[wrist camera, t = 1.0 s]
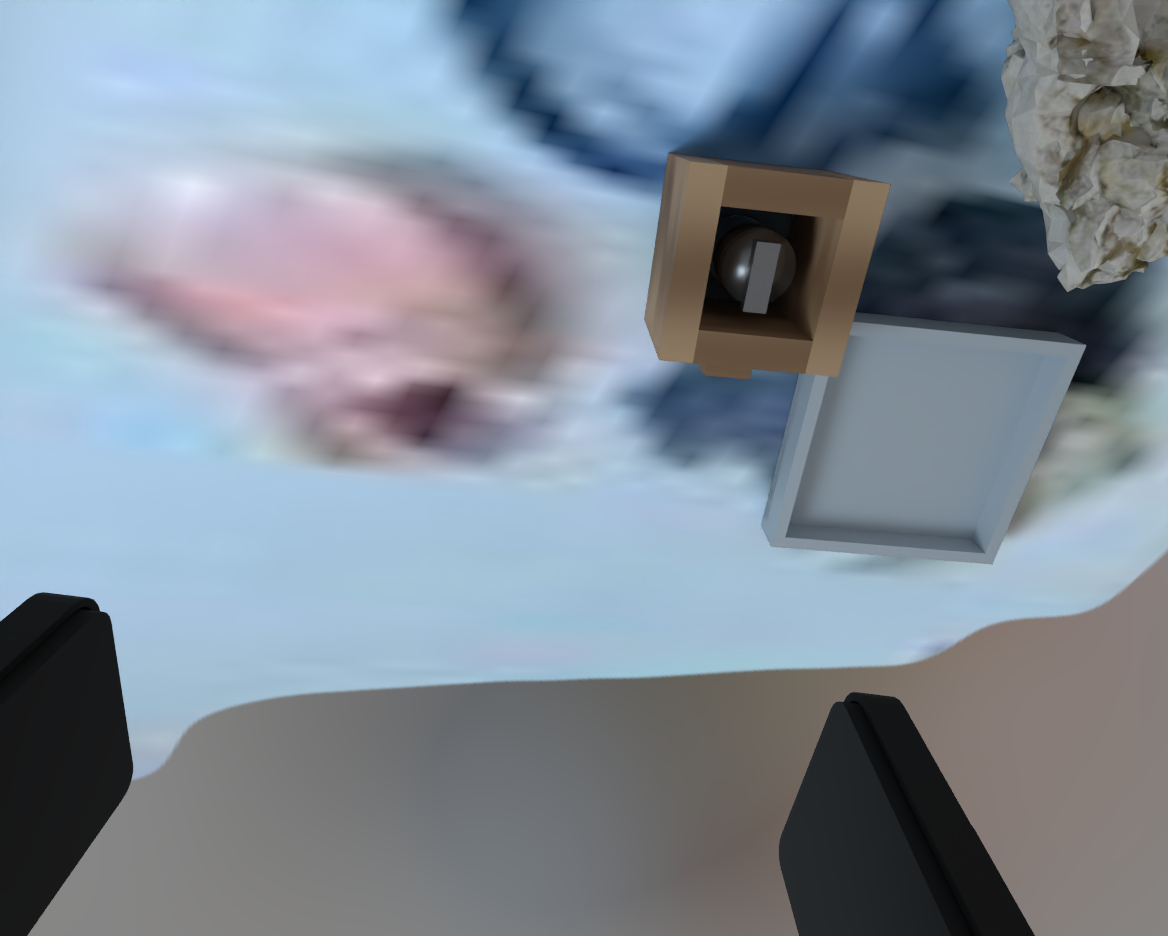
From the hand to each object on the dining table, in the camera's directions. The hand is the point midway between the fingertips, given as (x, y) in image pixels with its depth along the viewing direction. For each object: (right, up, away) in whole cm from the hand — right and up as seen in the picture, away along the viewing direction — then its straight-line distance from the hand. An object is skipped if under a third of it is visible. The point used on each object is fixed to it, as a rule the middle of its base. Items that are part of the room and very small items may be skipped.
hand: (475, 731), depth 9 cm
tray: (+17, +5, +26) cm, 31 cm away
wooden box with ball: (+8, +13, +22) cm, 27 cm away
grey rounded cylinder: (+8, +13, +22) cm, 27 cm away
